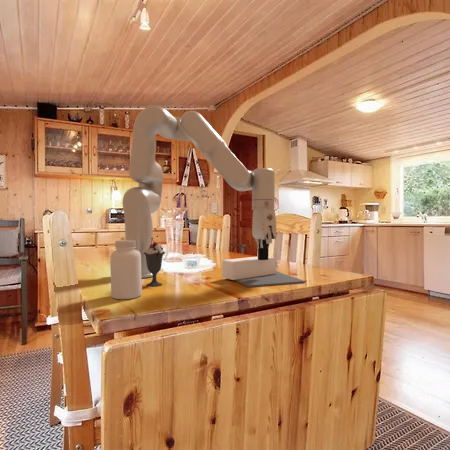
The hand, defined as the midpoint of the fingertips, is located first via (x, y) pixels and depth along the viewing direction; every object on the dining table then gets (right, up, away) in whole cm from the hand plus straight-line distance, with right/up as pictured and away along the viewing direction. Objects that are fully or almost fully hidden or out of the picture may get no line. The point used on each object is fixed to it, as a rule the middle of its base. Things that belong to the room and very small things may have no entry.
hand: (263, 259), depth 113 cm
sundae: (-35, -7, -9) cm, 37 cm away
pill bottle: (-40, -8, -23) cm, 46 cm away
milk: (-12, -3, -2) cm, 13 cm away
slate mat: (0, -7, 0) cm, 7 cm away
